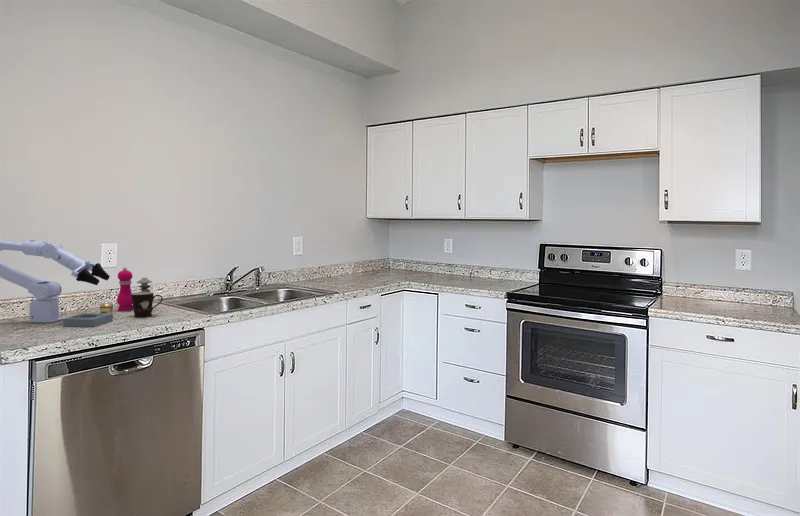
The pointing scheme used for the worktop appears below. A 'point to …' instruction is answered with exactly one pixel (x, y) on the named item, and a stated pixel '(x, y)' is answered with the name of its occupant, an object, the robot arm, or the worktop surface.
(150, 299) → the coffee mug
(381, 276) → the worktop surface
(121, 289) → the pepper mill
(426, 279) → the worktop surface
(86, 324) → the bore block
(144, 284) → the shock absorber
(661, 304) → the worktop surface
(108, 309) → the cylinder
